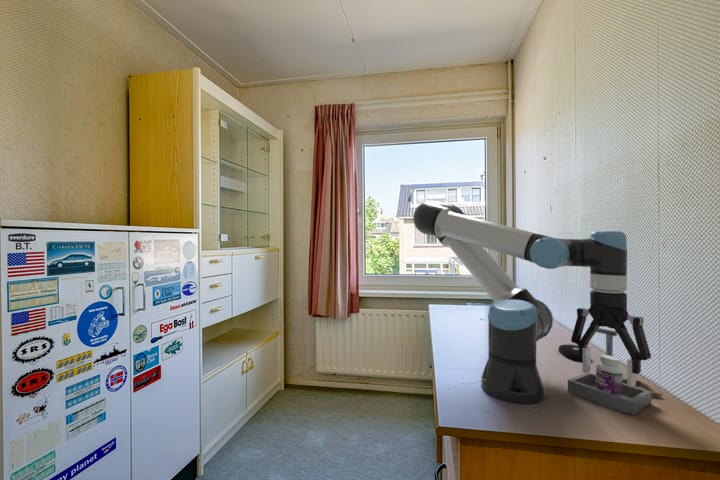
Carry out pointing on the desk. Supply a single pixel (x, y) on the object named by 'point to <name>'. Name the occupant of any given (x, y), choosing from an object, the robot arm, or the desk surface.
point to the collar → (653, 392)
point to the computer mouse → (570, 352)
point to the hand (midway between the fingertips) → (607, 378)
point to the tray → (627, 403)
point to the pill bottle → (609, 375)
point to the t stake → (608, 340)
